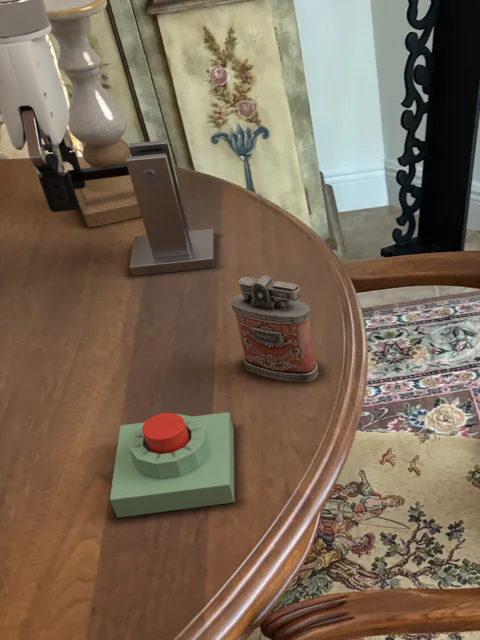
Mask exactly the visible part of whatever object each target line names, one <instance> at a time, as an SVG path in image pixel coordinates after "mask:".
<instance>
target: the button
mask: <svg viewBox="0 0 480 640" xmlns="http://www.w3.org/2000/svg"><path fill="white" fill-rule="evenodd" d="M177 414H178V413H174V412H163V413H158V414H154V415H153V416H151V417H150V418H148V419H147V420H146V421H144V422H145V423H144V422H143V423H144V425H143V428H142V432H143V435H144V438H145V441H146V443H147V446H148V448H149V450H151V451H152V452H153V453H157V454H166V453H173V452H175V451H177V450H179V449H181V448H183V447H185V446H186V445H187V443H188V441H189V435H188V431H187V428H186V425H185V421H184V419H183V418H182V417H181V416H179V415H177Z"/></svg>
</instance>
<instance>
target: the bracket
mask: <svg viewBox="0 0 480 640" xmlns="http://www.w3.org/2000/svg"><path fill="white" fill-rule="evenodd" d="M128 146H129V150H130V156H129V157H126V163H127V167H128V170H129V174H130V177H131V181H132V184H133V188H134V191H135V195H136V198H137V202H138V205H139V209H140V212H141V216H142V217H141V219H142V222H143V227H144V229H145V233H146V235H145V234H144V235H135V236H134V237H133V243H132V249H131V255H130V262H129V272H130V274H131V277H136V276H139V277H140V276H149V275H156V274H157V275H158V274H166V273H177V272H184V271H194V270H203V269H210V268H211V269H212V268H213V269H214V268H216V233H215V229H214V228H204V229H195V230H190V226H189V222H188V218H187V214H186V210H185V204H184V200H183V196H182V193H181V188H180V185H179V180H178V177H177V173H176V168H175V164H174V160H173V156H172V152H171V151H172V150H171V148H170V144H169V139H162V140H152V141H151V140H150V141H140V142H139V141H138V142H130V143H128ZM159 150H161V152H162V154H155V155H145V156H136V155H137V153H143V152H151V151H159Z"/></svg>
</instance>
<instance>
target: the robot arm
mask: <svg viewBox="0 0 480 640" xmlns="http://www.w3.org/2000/svg"><path fill="white" fill-rule="evenodd" d="M51 30H52V27H51V24H50V20H49V17H48V14H47V10H46V7H45V4H44V0H0V113H1V116H2V118H3V122H4V125H5V128H6V131H7V135H8V137H9V140H10V143H11V146H12V147H13V148H14V149H16V150H17V151H21V150H23V149H24V147H25V145H26V147H27V152H28V157H29V160H30V162H32V165H33V166H34V169H35V172H36V175H37V177H38V180H39V183H40V185H41V189H42V190H43V194H44V197H45V199H46V202H47V205H48V208H49V210H50V212H52V213H60V212H71V211H72V212H73V211H78V210H79V209H80V205H79V202H78V199H77V196H76V193H75V190H74V189H83V188H84V187H85V181H80V182H72V181H71V178H70V175H69V172H65V169H64V165H63V162H68V163H70V164H71V165H72V167H73V169H74V170H76V169H82V168H81V165H80V161H79V158H78V156H77V153H76V151H74V150H75V148H74V144H73V141H72V138H71V136H70V133H69V129H68V123H69V106H68V102H67V97H66V94H65V90H64V88H63V84H62V81H61V78H60V75H59V71H58V70H57V66H56V63H55V61H54V57H53V54H52V51H51V49H50V45H49V42H48V40H47V38H46V35H49V34H51V33H50V32H51ZM47 152H48V153H47Z"/></svg>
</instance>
